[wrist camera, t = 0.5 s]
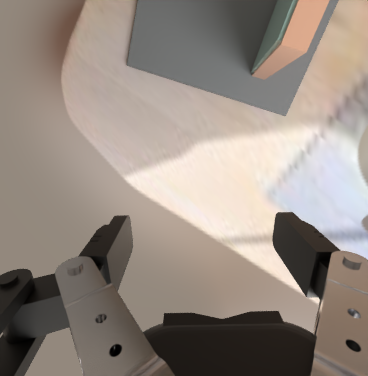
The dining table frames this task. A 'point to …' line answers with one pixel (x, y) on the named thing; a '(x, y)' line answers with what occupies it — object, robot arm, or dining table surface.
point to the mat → (217, 48)
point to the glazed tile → (288, 34)
